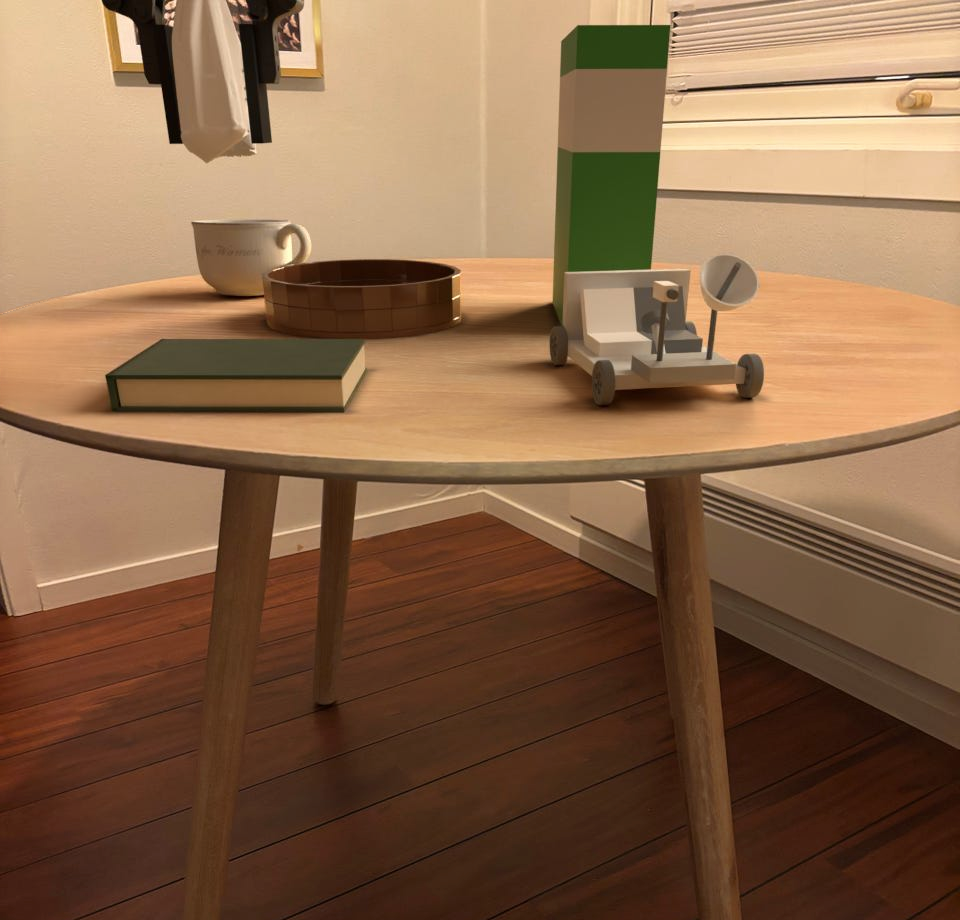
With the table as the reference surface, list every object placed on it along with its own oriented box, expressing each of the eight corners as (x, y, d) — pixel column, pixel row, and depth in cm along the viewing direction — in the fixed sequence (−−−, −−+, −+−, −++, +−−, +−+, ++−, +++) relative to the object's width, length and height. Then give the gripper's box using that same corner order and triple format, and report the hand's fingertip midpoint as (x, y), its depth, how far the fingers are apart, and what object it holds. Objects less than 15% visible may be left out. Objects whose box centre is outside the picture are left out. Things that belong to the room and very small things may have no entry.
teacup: (181, 296, 107) (170, 219, 103) (252, 284, 115) (244, 212, 111) (268, 308, 100) (259, 226, 96) (337, 294, 108) (332, 218, 104)
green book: (111, 411, 65) (104, 374, 64) (166, 371, 75) (161, 338, 74) (344, 412, 64) (341, 375, 63) (366, 371, 75) (364, 338, 74)
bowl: (246, 339, 86) (240, 287, 84) (288, 303, 103) (284, 259, 101) (456, 339, 86) (456, 287, 83) (464, 303, 102) (464, 258, 100)
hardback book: (552, 302, 102) (561, 41, 91) (620, 302, 102) (638, 41, 91) (565, 335, 87) (577, 25, 75) (645, 335, 87) (670, 24, 75)
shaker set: (249, 165, 58) (225, -58, 52) (178, 165, 57) (148, -60, 52) (260, 158, 68) (242, -28, 63) (200, 158, 68) (177, -30, 62)
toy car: (801, 257, 59) (624, 261, 57) (778, 412, 64) (613, 420, 62) (694, 228, 75) (552, 231, 73) (682, 355, 80) (548, 360, 78)
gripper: (-34, -373, 48) (65, 145, 59) (313, -379, 48) (347, 143, 59) (31, -314, 55) (109, 142, 66) (336, -319, 54) (362, 141, 65)
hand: (221, 142), depth 62 cm, fingers closed on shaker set, 5 cm apart
